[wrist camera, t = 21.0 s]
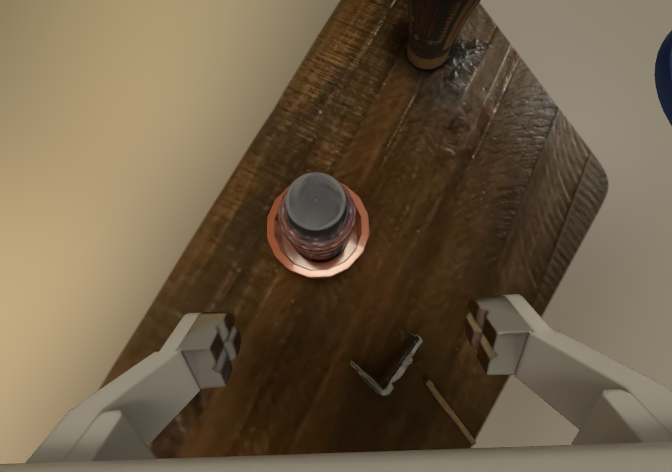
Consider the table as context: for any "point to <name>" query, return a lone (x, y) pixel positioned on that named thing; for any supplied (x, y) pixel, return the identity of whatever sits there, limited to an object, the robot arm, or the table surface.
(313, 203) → the supplement bottle
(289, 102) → the table surface
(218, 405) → the table surface
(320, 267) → the holder
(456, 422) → the stick
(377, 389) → the l-shaped bracket
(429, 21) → the cup
